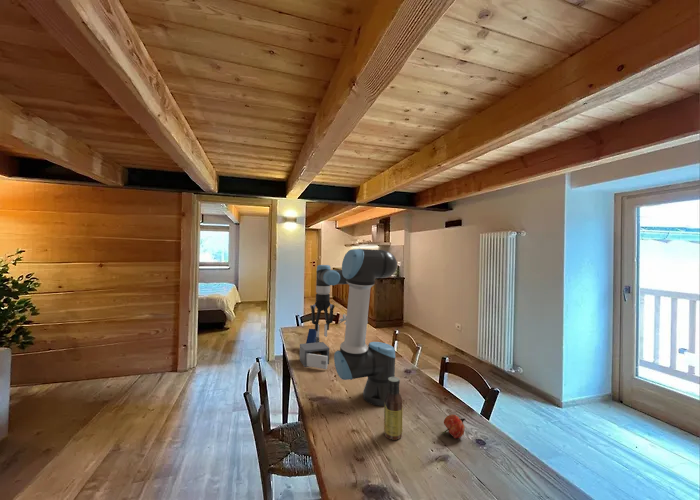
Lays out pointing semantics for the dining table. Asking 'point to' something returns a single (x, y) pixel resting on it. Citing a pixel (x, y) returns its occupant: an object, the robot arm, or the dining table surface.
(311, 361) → the door
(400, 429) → the sauce bottle
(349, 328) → the robot arm
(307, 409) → the dining table surface
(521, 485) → the dining table surface
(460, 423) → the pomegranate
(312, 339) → the blue block
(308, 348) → the block
